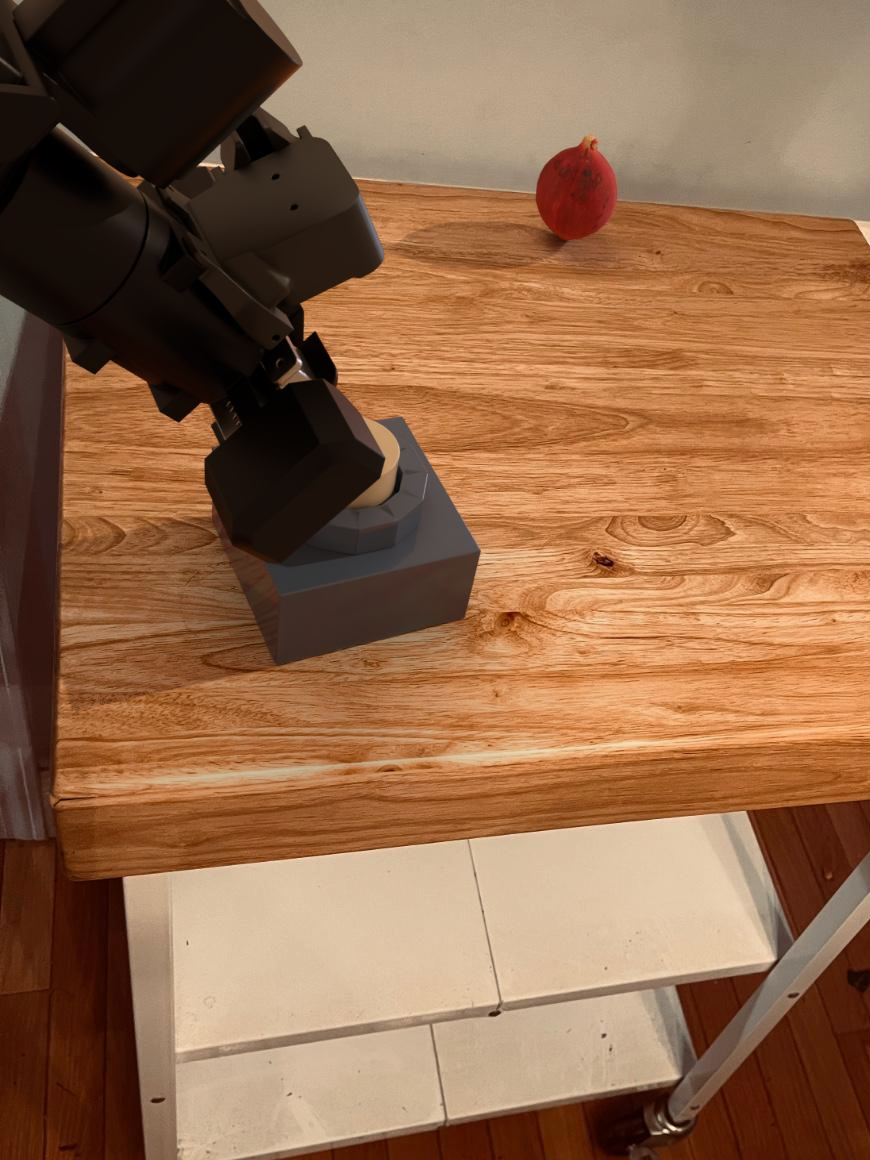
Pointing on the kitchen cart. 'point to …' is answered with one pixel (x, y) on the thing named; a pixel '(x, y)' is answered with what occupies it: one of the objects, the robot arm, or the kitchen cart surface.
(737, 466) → the kitchen cart surface
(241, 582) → the grey button base
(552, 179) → the pomegranate
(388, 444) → the tan push button
